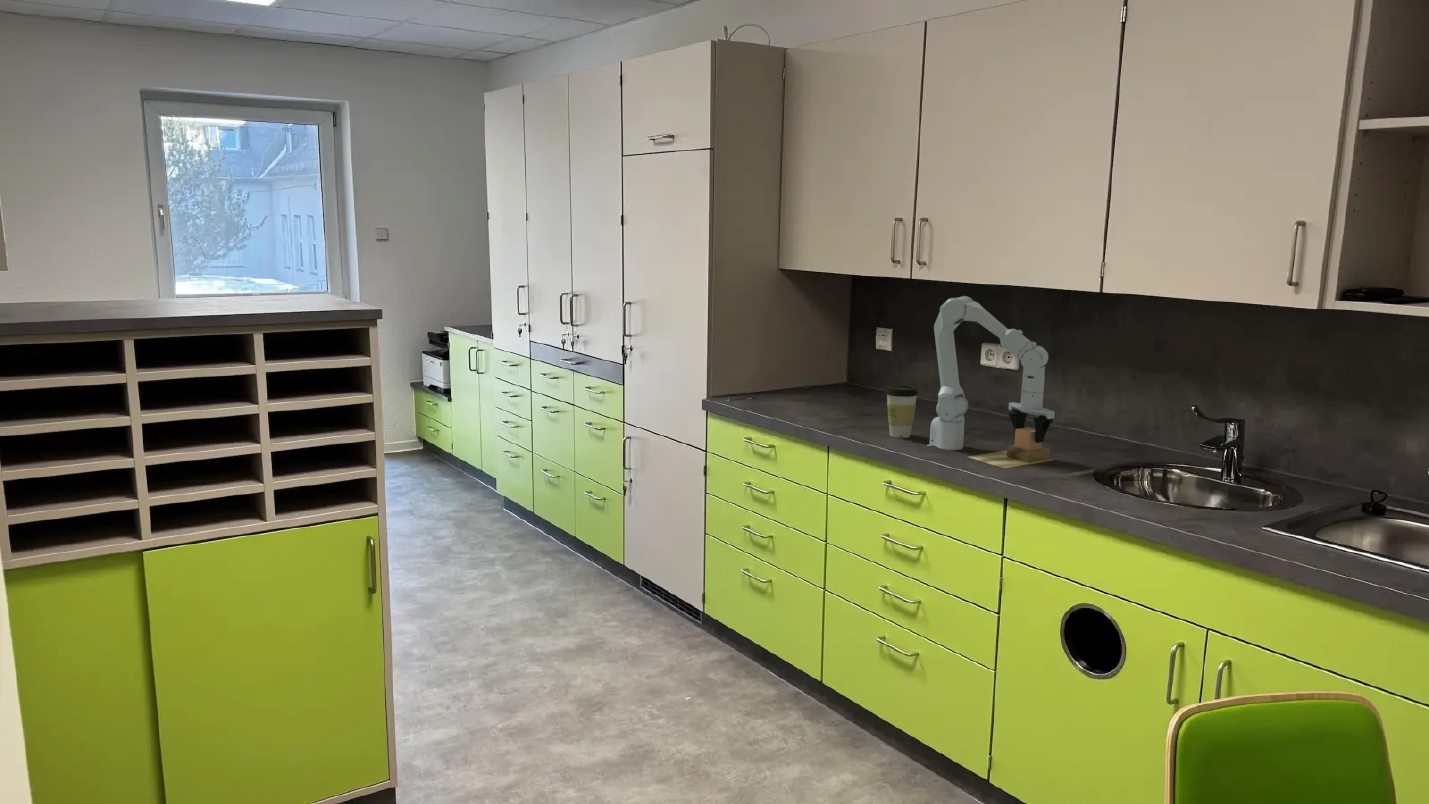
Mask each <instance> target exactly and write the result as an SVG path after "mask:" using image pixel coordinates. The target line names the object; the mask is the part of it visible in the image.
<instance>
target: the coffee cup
mask: <svg viewBox="0 0 1429 804" xmlns="http://www.w3.org/2000/svg"><path fill="white" fill-rule="evenodd" d="M885 394H886V397H887V402H886V405H887V419H888V421H887V422H888V427H889V436H891V437H893V438H900V439H902V438H903V439H905V438H910V437H911V432H912V427H913V424H914V418H915V411H916V405H917V402H916V401H917V396H919V392H918V390H917V387H915V386H913V385H903V384H900V385H899V384H896V385H894V384H893V385H889V386H888V387H887V390H886V391H885Z"/></svg>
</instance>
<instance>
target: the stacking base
mask: <svg viewBox="0 0 1429 804" xmlns="http://www.w3.org/2000/svg"><path fill="white" fill-rule="evenodd" d="M1050 455H1051V449H1050V448H1047V447H1044V446H1041V449H1035V450H1024V449H1021V448H1017V447H1014V444H1013V445H1012V444H1011V445H1007V446H1006V450H1002V451H996V452H989V453H983V454H975V455H970V456H969V455H968V456H967V458H969V459H972V460H976V461H979V462H983V463H985V464H989V465H992V466H995V467H998V468H1002V469H1010V468H1014V467H1015V468H1016V467H1020V466H1027V465H1028V466H1029V465H1034V464H1040V463H1045V462H1051V461H1054V459H1053V458H1050V457H1051V456H1050Z"/></svg>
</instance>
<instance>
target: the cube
mask: <svg viewBox="0 0 1429 804" xmlns="http://www.w3.org/2000/svg"><path fill="white" fill-rule="evenodd" d="M1042 443H1043V442H1041V443H1036V441H1035V428H1033V427H1024V428H1020V429H1015V431H1014V444H1013V445H1014V447H1017V448H1021V449H1024V450H1035V449H1041V447H1042V445H1043V444H1042Z"/></svg>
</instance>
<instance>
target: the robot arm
mask: <svg viewBox="0 0 1429 804" xmlns="http://www.w3.org/2000/svg"><path fill="white" fill-rule="evenodd" d="M963 321H966V322H976V323H978V324H979V325H981V326H982V327H983V328H984V329H986V330H988V331H989V332H990V333H992V334H993V335H994V336H996V337H997V338H998V339H999V341H1000V345H1001V346H1002V347H1003V348H1004V349H1005V350H1006V351H1008V352H1009V353H1010V354H1011V355H1013V356H1014V358H1015V357H1016V359H1018V360H1020V364H1021V366H1022V367H1023V369H1022V370H1023V371H1022V378H1021V379H1022V380H1021V381H1022V383H1021V391H1020V392H1021V393H1020V402H1014V401H1013V402H1008V410H1009V412H1008V416H1009V418H1010V420H1011V422H1012V425H1013V430H1014V432H1015V429H1020V428H1025V425H1026V424H1025V423H1026V420H1027V417H1028V414H1029V415H1034V416H1035V417H1033V419H1032V420H1033V422H1034V429H1035V441H1036V443H1041V442H1042V443H1044V439H1045V437H1046V433H1047V431H1048V429H1049V427H1050V426H1051V424H1053V422H1054V419H1055V411H1054V410H1050V409H1048V408H1045V407H1043V404H1044V403H1043V402H1044V389H1045V379H1046V378H1045V374H1046V373H1045V371H1046V366H1045V365H1046V364H1047V363H1048V361H1049V353H1048V351H1047V350H1046V349H1045V348H1044V347H1043V346H1041V345H1037V343H1036V342H1035V341H1031V340H1030V339H1028V338H1027V337H1026V336H1025V335H1024V334H1023V333H1024V331H1022V330H1021V329H1018V330H1017V329H1016V328H1011V329H1010V328H1009V329H1008V328H1007V327H1006V326H1005V325H1004V324H1003V323H1002V322H1001V321H999V320H998V318H996V317H994V316H993V314H991V313H990V312H989V311H987V309H986V308H984V307H983V306H982V305H981V304H980V303H979V302H977V301H974V300H973V298H971V297H969V296H966V295H961V296H959V297H950V298H948V299H947V300H946V301H945V302H943V304H942V305H941V306H940V307H939V313H938V315H937V318H936V320H935V323H934V325H933V330H934V331H933V333H934V339H935V347H936V349H935V350H936V356H937V357H936V359H937V367H938V374H939V382H940V383H939V384H940V388H939V391H938V393H937V399H938V400H937V404H936V408H935V411H936V414H937V415H938V416H936V417H934V418H933V419H932V420H931V423H930V429H929V444H927V445H926V446H927V447H929V446H934V447H937V448H939V449H941V450H948V451H958V450H962V449H964V448H963V447H964V436H965V435H964V433H965V432H964V431H965V416H964V415H965V414H966V412H967V411H968V409H969V403H968V400H967V399H966V397H965V394H964V390H963V388H962V386H961V384H960V378H959V377H960V376H959V370H958V369H959V368H958V361H957V351H956V342H955V333H954V331H955V330H956V329H957V327H958V326H959V325H960V324H961V323H962V322H963Z"/></svg>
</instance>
